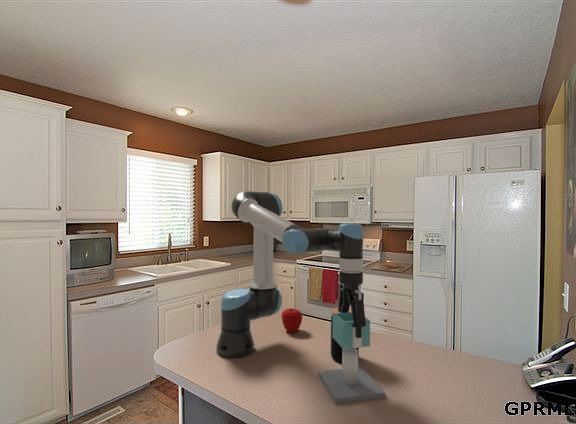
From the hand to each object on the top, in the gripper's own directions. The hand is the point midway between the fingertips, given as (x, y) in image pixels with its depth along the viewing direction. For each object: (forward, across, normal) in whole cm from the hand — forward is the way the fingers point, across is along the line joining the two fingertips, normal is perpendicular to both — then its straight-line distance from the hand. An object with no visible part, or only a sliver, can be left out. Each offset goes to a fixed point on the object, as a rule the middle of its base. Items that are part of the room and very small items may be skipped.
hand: (350, 341), depth 100 cm
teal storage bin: (0, 0, 0) cm, 0 cm away
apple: (+14, +50, +8) cm, 53 cm away
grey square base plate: (+15, 0, 0) cm, 15 cm away
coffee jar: (+15, +19, -6) cm, 25 cm away
